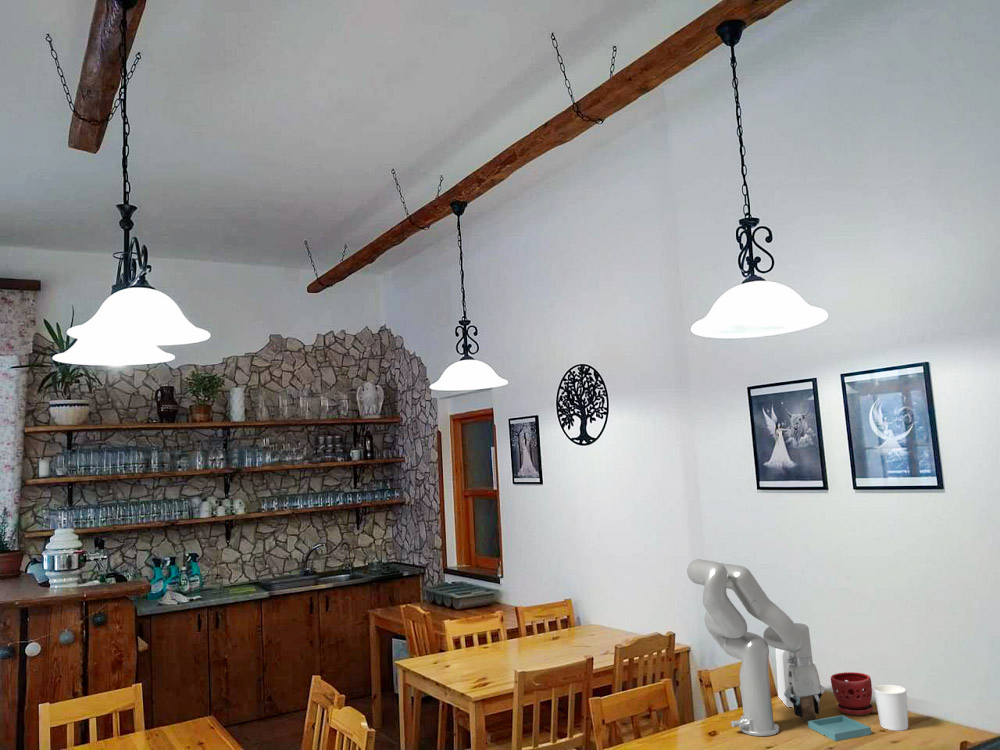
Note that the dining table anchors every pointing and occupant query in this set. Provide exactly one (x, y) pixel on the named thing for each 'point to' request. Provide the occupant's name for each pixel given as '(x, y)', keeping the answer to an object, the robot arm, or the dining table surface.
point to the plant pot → (853, 692)
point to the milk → (783, 675)
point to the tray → (839, 727)
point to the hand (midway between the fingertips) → (807, 714)
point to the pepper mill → (807, 708)
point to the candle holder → (892, 707)
